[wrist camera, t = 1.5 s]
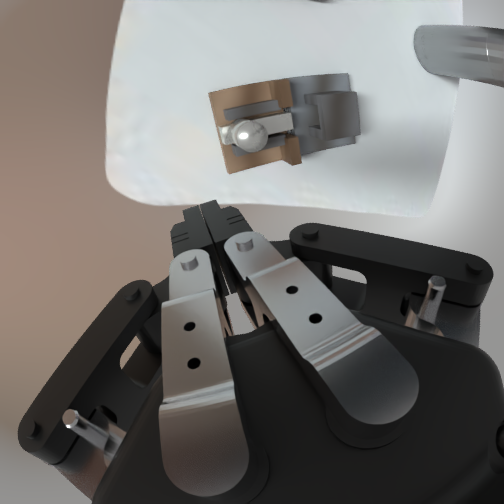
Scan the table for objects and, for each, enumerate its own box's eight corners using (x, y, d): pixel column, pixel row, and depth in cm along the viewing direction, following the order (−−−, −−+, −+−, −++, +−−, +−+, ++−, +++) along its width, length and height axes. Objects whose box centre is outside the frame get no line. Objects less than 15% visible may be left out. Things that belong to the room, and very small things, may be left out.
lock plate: (343, 73, 31) (367, 73, 27) (351, 142, 36) (373, 150, 32) (208, 93, 28) (216, 91, 24) (227, 172, 34) (237, 184, 30)
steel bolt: (283, 107, 30) (307, 111, 25) (287, 131, 32) (311, 139, 27) (217, 122, 29) (229, 127, 24) (223, 146, 31) (235, 157, 26)
